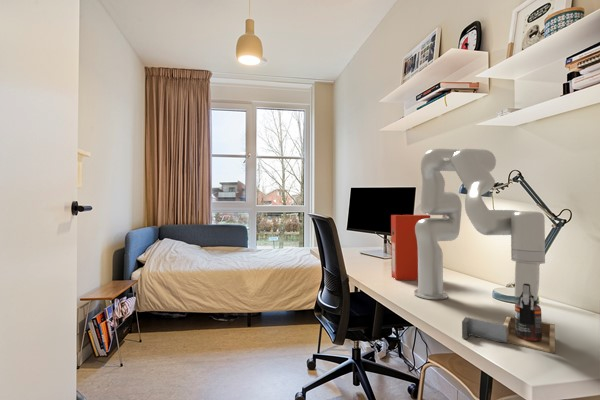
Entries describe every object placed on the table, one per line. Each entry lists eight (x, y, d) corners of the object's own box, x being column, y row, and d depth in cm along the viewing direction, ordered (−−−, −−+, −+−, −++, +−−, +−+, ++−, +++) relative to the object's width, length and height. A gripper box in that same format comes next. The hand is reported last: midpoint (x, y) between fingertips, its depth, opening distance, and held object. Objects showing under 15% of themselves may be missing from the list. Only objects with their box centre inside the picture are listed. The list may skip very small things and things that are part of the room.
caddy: (507, 329, 93) (507, 315, 93) (554, 338, 86) (554, 324, 86) (502, 341, 85) (502, 326, 85) (554, 353, 78) (554, 337, 78)
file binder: (391, 276, 162) (391, 214, 163) (424, 276, 162) (424, 214, 163) (396, 280, 154) (395, 215, 155) (431, 280, 154) (430, 215, 155)
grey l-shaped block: (465, 332, 90) (465, 317, 90) (506, 342, 84) (506, 325, 84) (462, 337, 87) (462, 321, 87) (504, 348, 81) (504, 330, 81)
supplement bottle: (543, 337, 86) (542, 296, 86) (541, 344, 82) (540, 301, 82) (516, 331, 90) (516, 292, 90) (513, 338, 86) (513, 296, 86)
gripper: (514, 251, 95) (514, 307, 95) (507, 258, 82) (508, 324, 82) (545, 253, 90) (546, 312, 90) (544, 262, 77) (544, 332, 77)
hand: (528, 318), depth 86 cm, fingers open, 9 cm apart
